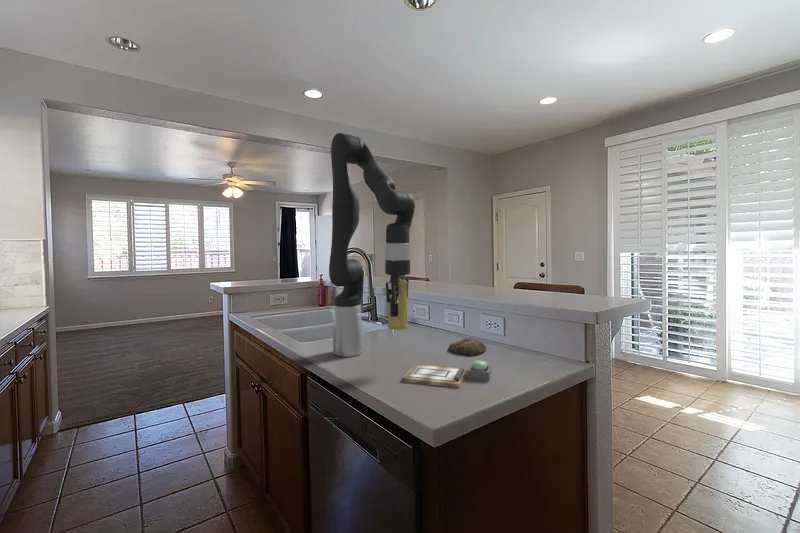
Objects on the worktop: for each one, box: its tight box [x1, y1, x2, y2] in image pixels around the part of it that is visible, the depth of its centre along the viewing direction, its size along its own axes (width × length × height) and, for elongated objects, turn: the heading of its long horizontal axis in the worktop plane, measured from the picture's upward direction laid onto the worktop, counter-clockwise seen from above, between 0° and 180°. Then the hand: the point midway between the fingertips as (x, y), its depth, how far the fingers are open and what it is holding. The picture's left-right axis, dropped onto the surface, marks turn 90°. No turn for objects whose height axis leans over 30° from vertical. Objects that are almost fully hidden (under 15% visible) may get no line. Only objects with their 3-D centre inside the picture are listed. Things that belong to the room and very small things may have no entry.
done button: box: [472, 360, 488, 371], centre depth 108 cm, size 4×4×2 cm
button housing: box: [466, 363, 492, 382], centre depth 108 cm, size 6×6×2 cm
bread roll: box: [448, 337, 487, 357], centre depth 135 cm, size 13×12×5 cm
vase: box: [387, 280, 409, 331], centre depth 113 cm, size 6×6×14 cm
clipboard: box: [401, 363, 468, 389], centre depth 108 cm, size 16×13×2 cm
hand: (397, 314), depth 113 cm, fingers closed on vase, 5 cm apart
